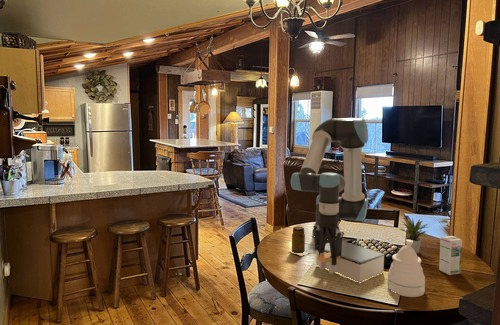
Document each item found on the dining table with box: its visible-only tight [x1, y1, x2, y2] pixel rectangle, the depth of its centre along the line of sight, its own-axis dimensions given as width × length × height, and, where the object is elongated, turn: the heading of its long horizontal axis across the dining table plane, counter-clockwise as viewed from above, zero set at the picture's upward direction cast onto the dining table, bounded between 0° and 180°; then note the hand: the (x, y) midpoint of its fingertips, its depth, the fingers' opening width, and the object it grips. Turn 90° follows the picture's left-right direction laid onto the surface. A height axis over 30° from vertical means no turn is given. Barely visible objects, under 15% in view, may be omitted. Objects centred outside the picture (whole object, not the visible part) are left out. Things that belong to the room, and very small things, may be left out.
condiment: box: [291, 226, 306, 253], centre depth 175 cm, size 7×8×12 cm
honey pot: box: [386, 240, 426, 298], centre depth 137 cm, size 13×13×18 cm
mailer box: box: [315, 250, 385, 282], centre depth 155 cm, size 22×16×8 cm
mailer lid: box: [318, 240, 385, 263], centre depth 152 cm, size 22×25×2 cm
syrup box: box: [438, 235, 463, 276], centre depth 152 cm, size 6×6×14 cm
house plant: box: [399, 217, 429, 254], centre depth 175 cm, size 14×14×16 cm
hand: (327, 270), depth 146 cm, fingers closed on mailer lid, 4 cm apart
